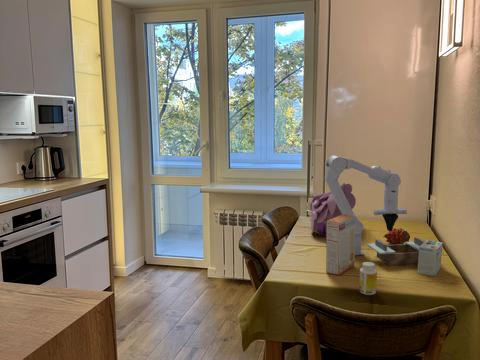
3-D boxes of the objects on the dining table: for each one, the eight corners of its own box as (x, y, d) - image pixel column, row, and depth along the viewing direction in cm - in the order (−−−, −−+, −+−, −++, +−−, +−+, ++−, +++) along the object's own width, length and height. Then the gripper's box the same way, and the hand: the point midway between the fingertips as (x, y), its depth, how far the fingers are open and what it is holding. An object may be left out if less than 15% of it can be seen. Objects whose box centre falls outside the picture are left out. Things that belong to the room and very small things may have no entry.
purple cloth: (351, 251, 210) (365, 197, 202) (302, 239, 213) (315, 185, 205) (349, 226, 243) (361, 178, 235) (307, 216, 247) (318, 169, 239)
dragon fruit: (412, 249, 201) (385, 251, 204) (409, 235, 207) (383, 236, 210) (411, 238, 195) (383, 239, 199) (409, 223, 201) (382, 225, 205)
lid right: (420, 251, 175) (420, 244, 175) (405, 243, 187) (405, 236, 187) (435, 250, 176) (436, 243, 176) (419, 242, 188) (420, 235, 188)
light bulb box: (423, 265, 175) (424, 239, 174) (441, 268, 172) (443, 242, 170) (417, 273, 167) (418, 246, 165) (435, 276, 163) (437, 249, 161)
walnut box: (390, 266, 174) (390, 254, 174) (376, 256, 186) (377, 245, 185) (422, 264, 176) (423, 252, 176) (407, 254, 188) (407, 243, 187)
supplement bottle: (378, 292, 149) (380, 263, 148) (371, 297, 145) (372, 267, 144) (363, 287, 153) (364, 259, 151) (356, 292, 149) (357, 263, 147)
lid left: (379, 254, 173) (380, 246, 173) (366, 245, 185) (367, 238, 184) (395, 253, 174) (395, 245, 173) (381, 244, 186) (382, 237, 185)
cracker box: (341, 263, 179) (342, 213, 176) (354, 266, 175) (356, 215, 172) (324, 272, 168) (325, 220, 165) (339, 276, 164) (340, 222, 161)
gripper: (379, 202, 184) (378, 233, 186) (411, 201, 186) (409, 232, 188) (372, 199, 191) (370, 229, 193) (402, 198, 193) (401, 227, 195)
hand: (389, 230), depth 191 cm, fingers closed
